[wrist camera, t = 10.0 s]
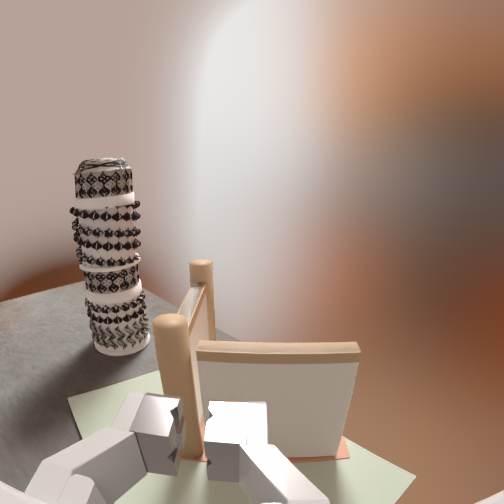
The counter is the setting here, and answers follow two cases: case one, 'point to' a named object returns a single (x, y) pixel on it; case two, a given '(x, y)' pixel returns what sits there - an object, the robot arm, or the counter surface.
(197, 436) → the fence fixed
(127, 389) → the mat
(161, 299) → the counter surface
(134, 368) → the counter surface
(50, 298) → the counter surface
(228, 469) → the robot arm
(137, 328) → the decorative candle
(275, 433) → the swing panel
